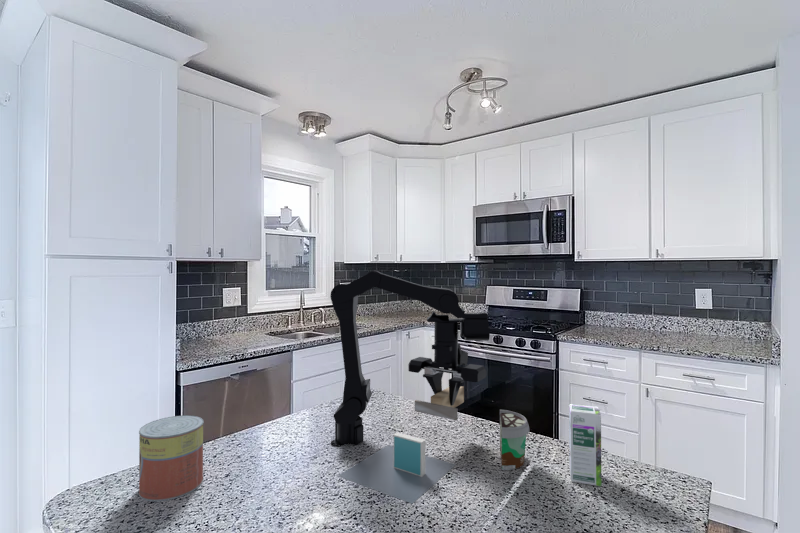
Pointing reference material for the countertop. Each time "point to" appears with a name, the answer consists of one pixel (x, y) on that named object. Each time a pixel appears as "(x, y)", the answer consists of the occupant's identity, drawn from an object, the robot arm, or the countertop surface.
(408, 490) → the slate board
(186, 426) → the canned food
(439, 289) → the robot arm
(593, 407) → the syrup box
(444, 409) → the block
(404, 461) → the tile
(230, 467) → the countertop surface
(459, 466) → the countertop surface
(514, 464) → the food container
